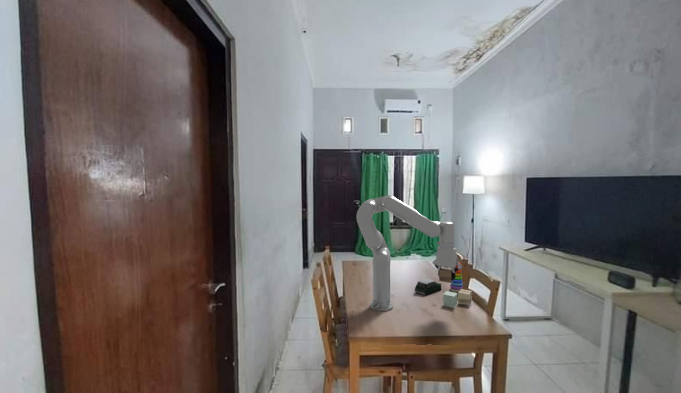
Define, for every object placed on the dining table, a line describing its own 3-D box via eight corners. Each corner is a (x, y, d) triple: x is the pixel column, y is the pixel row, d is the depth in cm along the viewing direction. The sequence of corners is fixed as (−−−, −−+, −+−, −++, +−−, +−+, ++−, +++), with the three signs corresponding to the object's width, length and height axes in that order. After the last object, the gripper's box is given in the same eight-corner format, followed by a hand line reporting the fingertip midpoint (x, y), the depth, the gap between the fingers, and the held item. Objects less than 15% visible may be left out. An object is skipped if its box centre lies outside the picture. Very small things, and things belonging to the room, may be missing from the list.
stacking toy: (461, 294, 187) (462, 264, 186) (448, 291, 192) (448, 262, 191) (464, 290, 194) (464, 261, 193) (451, 287, 198) (451, 259, 197)
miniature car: (442, 290, 194) (443, 278, 193) (424, 297, 183) (424, 284, 182) (431, 287, 201) (431, 275, 200) (413, 293, 190) (413, 280, 190)
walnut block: (450, 282, 159) (450, 271, 158) (439, 280, 162) (439, 269, 162) (454, 279, 164) (454, 268, 163) (442, 277, 167) (442, 267, 167)
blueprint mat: (472, 315, 158) (472, 313, 158) (440, 307, 168) (440, 306, 168) (480, 302, 175) (480, 301, 175) (450, 296, 184) (450, 295, 184)
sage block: (454, 307, 167) (454, 296, 166) (443, 304, 170) (443, 294, 170) (457, 303, 171) (457, 293, 171) (446, 301, 175) (446, 291, 175)
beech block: (469, 305, 170) (469, 294, 169) (458, 302, 173) (458, 292, 173) (471, 301, 174) (471, 291, 174) (460, 299, 178) (460, 289, 178)
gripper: (428, 244, 164) (428, 277, 165) (461, 248, 154) (461, 283, 155) (433, 242, 170) (433, 273, 171) (465, 245, 160) (465, 279, 161)
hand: (446, 278), depth 163 cm, fingers closed on walnut block, 6 cm apart
